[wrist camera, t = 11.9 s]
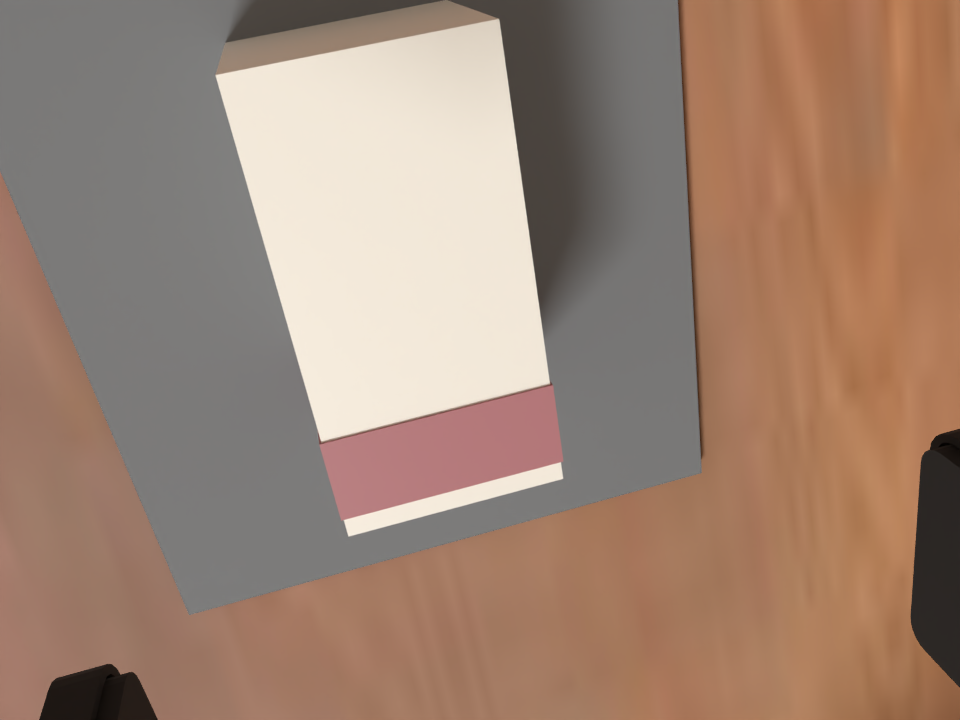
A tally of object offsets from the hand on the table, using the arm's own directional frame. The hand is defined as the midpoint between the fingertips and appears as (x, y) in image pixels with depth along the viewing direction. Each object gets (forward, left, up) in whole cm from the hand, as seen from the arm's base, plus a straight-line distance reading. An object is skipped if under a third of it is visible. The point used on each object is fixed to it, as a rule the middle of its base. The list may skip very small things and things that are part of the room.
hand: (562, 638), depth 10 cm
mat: (+1, 0, -14) cm, 14 cm away
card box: (+1, 0, -14) cm, 14 cm away
